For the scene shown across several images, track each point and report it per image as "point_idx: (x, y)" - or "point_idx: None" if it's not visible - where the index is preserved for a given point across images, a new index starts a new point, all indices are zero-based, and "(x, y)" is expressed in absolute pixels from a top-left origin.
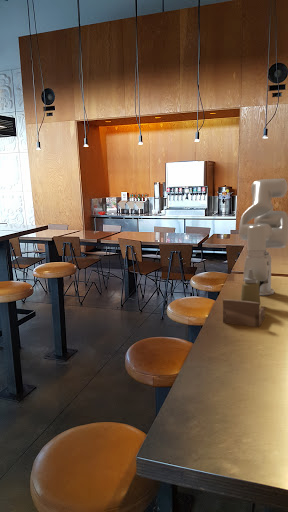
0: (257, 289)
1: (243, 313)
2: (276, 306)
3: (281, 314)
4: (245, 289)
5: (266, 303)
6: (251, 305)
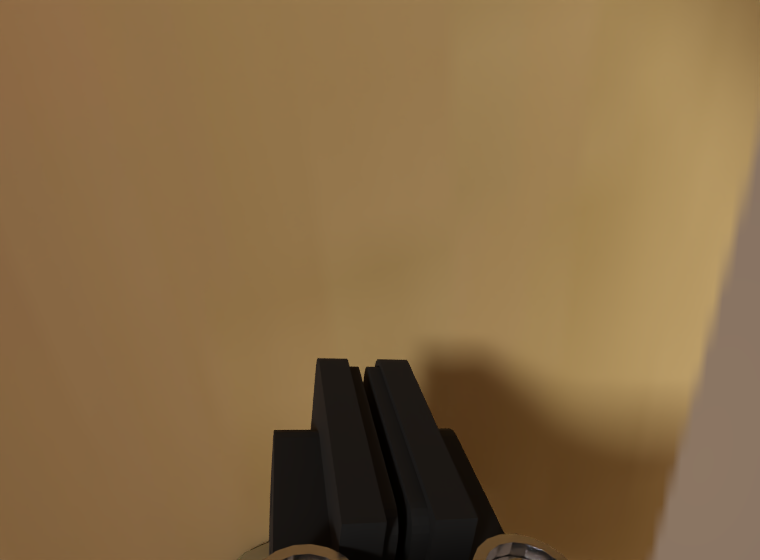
0: None
1: None
2: (633, 292)
3: (638, 540)
4: None
5: (500, 182)
6: None
